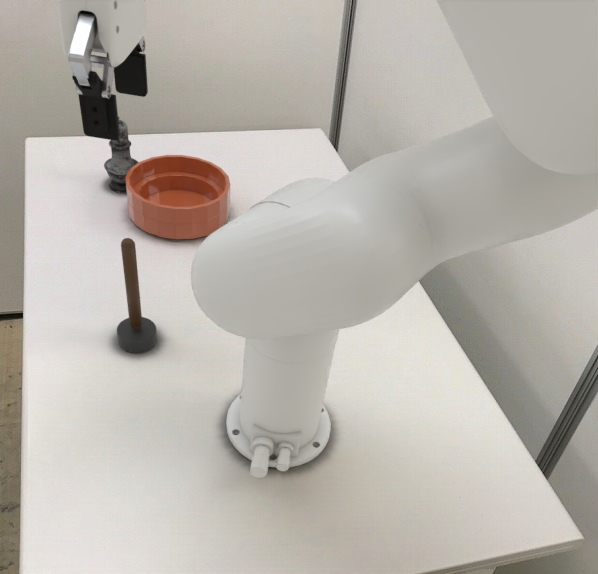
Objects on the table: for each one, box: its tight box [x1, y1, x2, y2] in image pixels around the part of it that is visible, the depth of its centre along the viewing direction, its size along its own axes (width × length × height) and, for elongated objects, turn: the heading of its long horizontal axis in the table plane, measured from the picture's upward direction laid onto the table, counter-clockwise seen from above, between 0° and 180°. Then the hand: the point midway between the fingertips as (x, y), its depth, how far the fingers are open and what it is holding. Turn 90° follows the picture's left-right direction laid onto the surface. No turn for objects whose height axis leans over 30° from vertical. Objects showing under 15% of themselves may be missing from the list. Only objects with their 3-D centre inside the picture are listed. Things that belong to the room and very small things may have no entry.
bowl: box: [126, 154, 231, 240], centre depth 104 cm, size 16×16×6 cm
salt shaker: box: [103, 115, 140, 194], centre depth 105 cm, size 6×6×12 cm
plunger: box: [116, 237, 158, 354], centre depth 79 cm, size 5×5×16 cm
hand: (117, 114), depth 63 cm, fingers open, 9 cm apart
